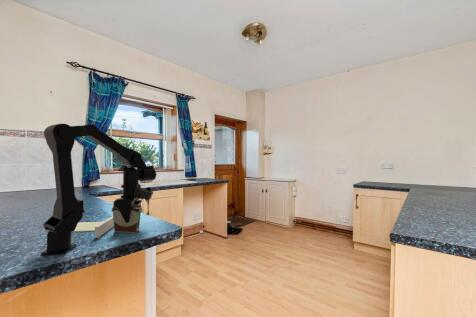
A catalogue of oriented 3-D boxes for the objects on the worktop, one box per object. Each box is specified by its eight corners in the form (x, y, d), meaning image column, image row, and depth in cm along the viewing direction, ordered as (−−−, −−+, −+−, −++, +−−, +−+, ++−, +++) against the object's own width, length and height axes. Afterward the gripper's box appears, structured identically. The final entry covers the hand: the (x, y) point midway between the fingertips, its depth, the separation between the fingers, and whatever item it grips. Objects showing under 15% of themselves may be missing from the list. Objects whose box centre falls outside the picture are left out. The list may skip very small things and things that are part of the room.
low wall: (98, 237, 77) (98, 226, 77) (94, 238, 77) (94, 227, 77) (119, 222, 97) (119, 213, 97) (116, 222, 97) (116, 213, 97)
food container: (148, 228, 89) (148, 204, 89) (140, 233, 83) (140, 207, 83) (120, 226, 90) (121, 203, 90) (110, 231, 84) (111, 206, 84)
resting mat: (100, 230, 85) (100, 230, 85) (58, 232, 82) (58, 231, 82) (113, 222, 96) (113, 221, 96) (77, 223, 94) (77, 222, 94)
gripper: (145, 184, 79) (144, 226, 78) (156, 180, 97) (155, 214, 97) (113, 184, 77) (112, 227, 76) (130, 180, 95) (129, 214, 95)
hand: (130, 220), depth 86 cm, fingers closed on food container, 6 cm apart
